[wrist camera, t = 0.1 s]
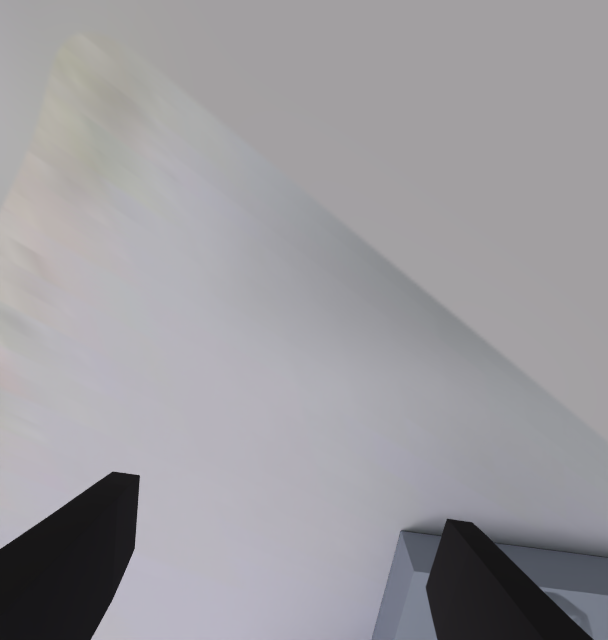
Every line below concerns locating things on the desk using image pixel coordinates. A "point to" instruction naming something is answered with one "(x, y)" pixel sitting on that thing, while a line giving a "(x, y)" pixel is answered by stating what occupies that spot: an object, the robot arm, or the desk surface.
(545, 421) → the desk surface
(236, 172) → the desk surface
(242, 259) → the desk surface
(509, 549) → the grey socket plate
